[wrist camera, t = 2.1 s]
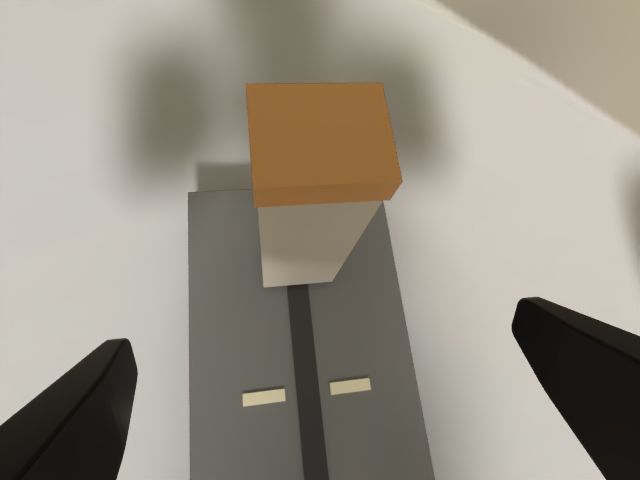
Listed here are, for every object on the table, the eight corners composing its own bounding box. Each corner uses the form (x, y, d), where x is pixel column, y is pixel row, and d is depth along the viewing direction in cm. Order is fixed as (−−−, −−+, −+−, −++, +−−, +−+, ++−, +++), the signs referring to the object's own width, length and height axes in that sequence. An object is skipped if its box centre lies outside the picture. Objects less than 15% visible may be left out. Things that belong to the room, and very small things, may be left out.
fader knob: (334, 283, 18) (402, 181, 9) (261, 289, 18) (252, 188, 8) (326, 228, 19) (381, 82, 10) (257, 232, 19) (245, 83, 9)
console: (423, 514, 18) (445, 533, 16) (201, 555, 17) (190, 583, 14) (369, 202, 23) (380, 182, 21) (196, 211, 22) (187, 191, 19)
